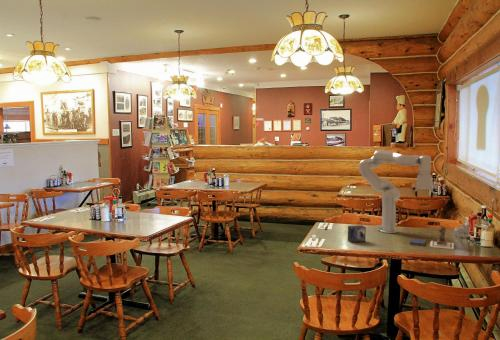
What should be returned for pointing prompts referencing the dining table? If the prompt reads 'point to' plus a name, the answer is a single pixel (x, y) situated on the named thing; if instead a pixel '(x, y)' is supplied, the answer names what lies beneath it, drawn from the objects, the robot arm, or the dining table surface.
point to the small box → (356, 234)
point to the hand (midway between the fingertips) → (423, 197)
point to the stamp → (442, 237)
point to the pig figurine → (462, 230)
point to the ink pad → (417, 242)
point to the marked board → (434, 244)
